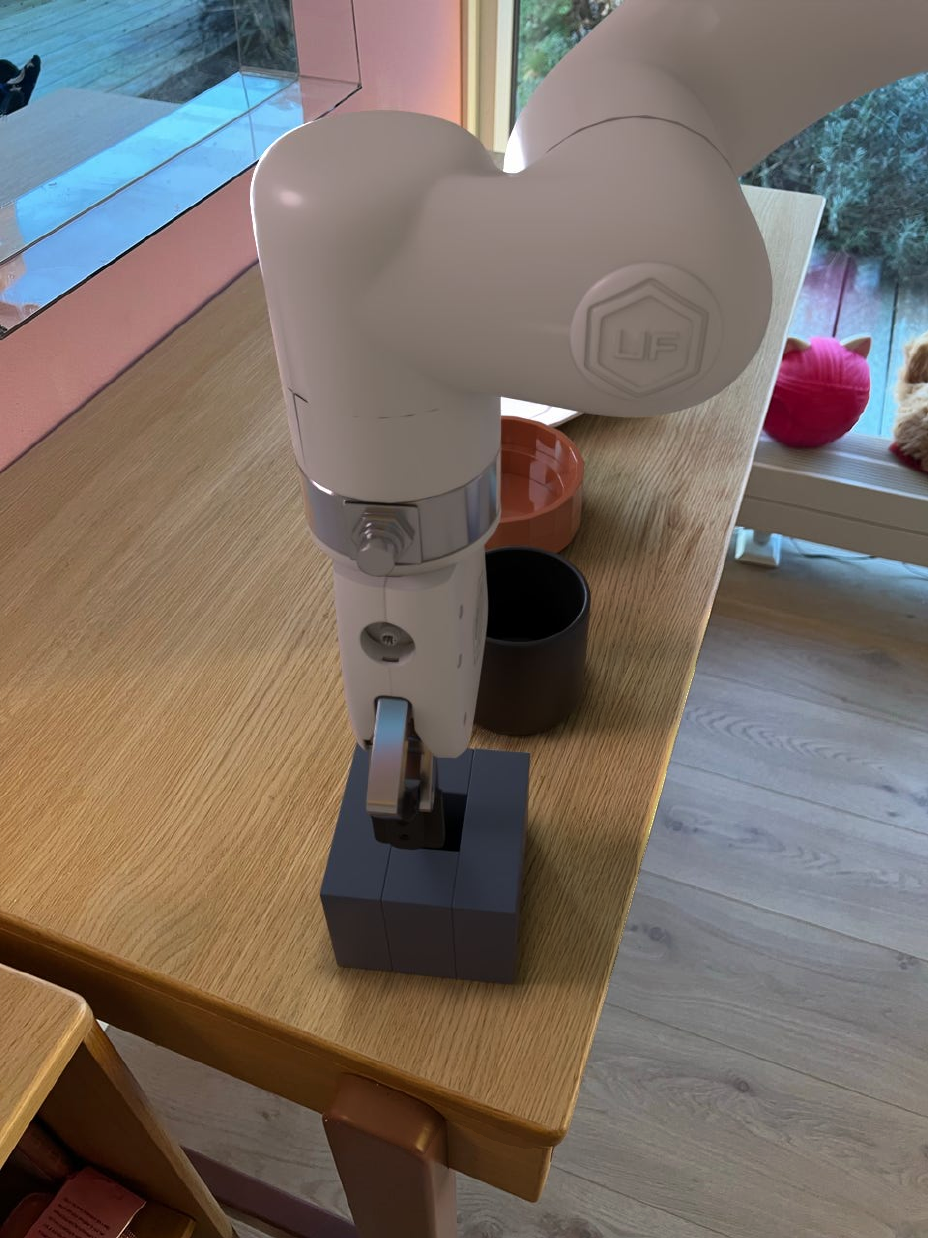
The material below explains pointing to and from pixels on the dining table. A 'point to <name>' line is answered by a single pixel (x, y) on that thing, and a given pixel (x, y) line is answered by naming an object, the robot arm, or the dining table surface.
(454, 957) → the holder
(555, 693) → the mug
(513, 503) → the bowl
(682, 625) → the dining table surface
